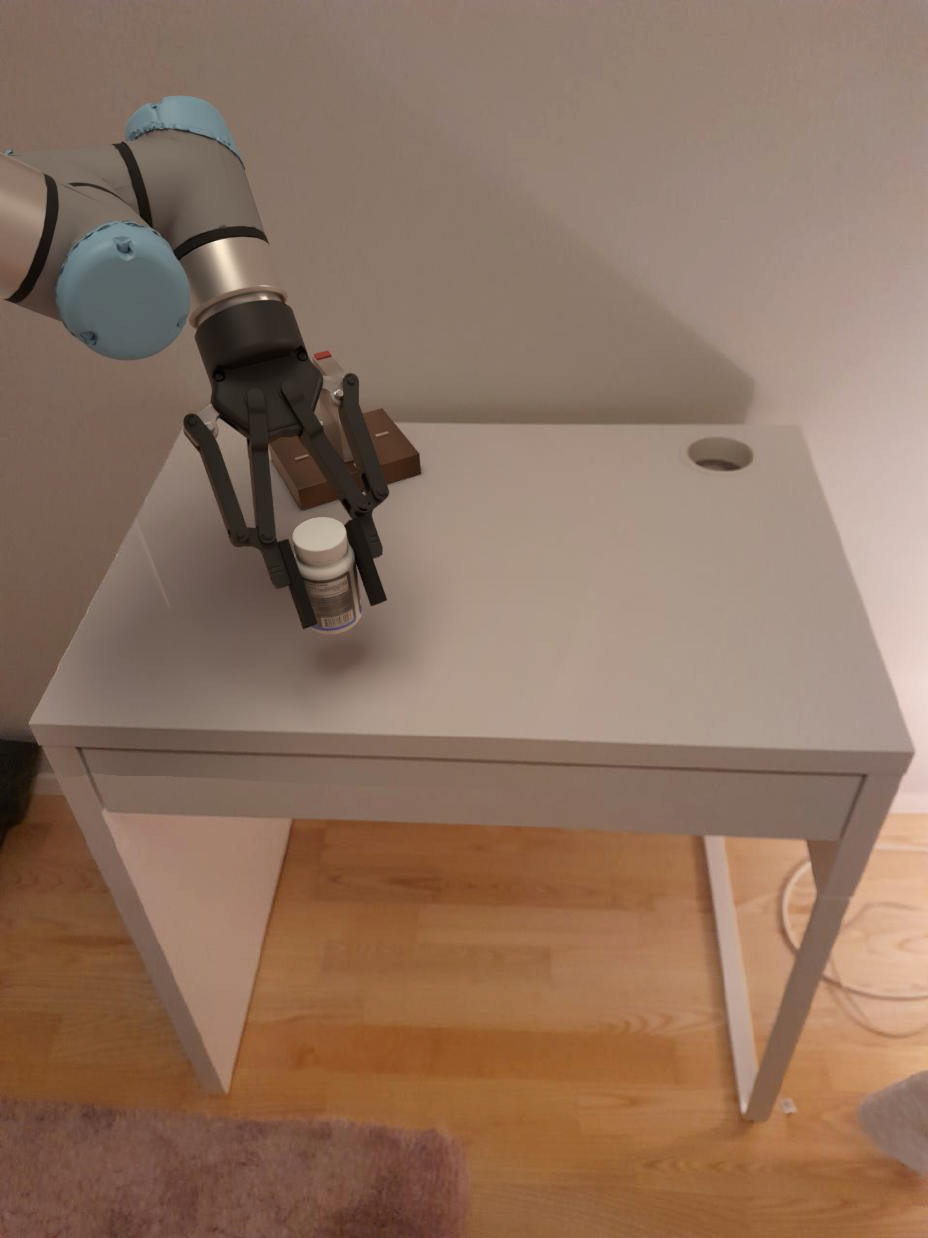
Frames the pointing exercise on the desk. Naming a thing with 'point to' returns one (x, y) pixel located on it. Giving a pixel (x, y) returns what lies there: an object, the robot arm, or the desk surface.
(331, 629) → the pill bottle
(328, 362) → the red-topped gray slab
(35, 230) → the robot arm
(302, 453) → the panel
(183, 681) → the desk surface
